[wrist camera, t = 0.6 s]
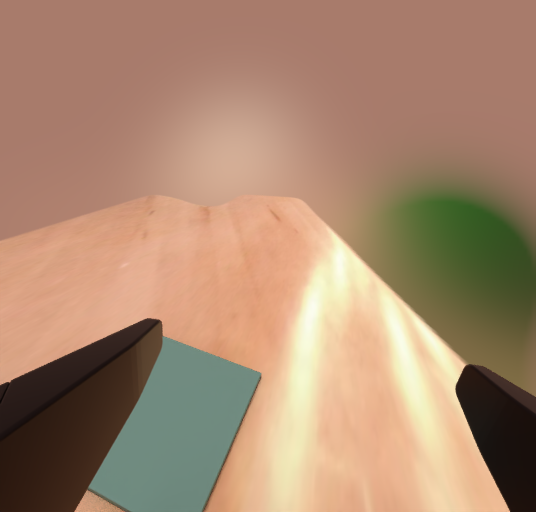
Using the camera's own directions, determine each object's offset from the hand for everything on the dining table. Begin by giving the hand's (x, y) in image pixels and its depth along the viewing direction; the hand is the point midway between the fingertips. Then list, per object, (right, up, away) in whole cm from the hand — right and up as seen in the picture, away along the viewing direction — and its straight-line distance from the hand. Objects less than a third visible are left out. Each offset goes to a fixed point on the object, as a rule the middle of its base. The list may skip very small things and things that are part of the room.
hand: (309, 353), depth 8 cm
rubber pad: (-10, -10, +14) cm, 20 cm away
